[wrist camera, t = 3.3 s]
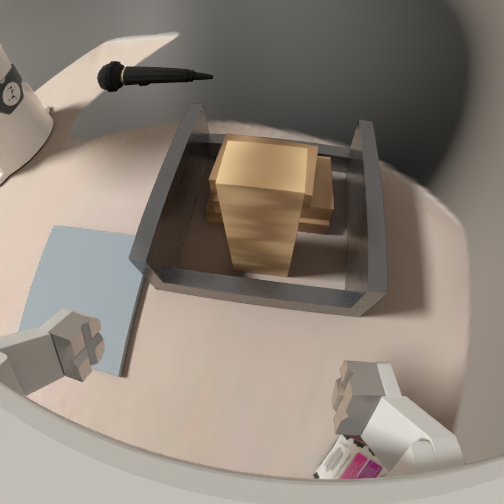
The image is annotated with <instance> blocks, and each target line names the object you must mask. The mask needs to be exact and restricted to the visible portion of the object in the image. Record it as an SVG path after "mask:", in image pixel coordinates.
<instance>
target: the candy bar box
mask: <svg viewBox="0 0 504 504" xmlns="http://www.w3.org/2000/svg"><path fill="white" fill-rule="evenodd" d="M388 473H389V472H388V471H387V469H386V468H385V467H384V466H383V464H382V463H381V462H380V461H379V459H378V458H377V457H376V456H375V454H374V453H373V452H372V450H371V449H370V448H369V447H368V445H367V444H366V443H364V442H362V441H360V440H357V439H355V438H353V437H351V436H349V435H340V436H339V437H338V439H337V441H336V442H335V444H334V445H333V447H332V449H331V450H330V452H329V453H328V454H327V456H326V457H325V459H324V460H323V461H322V462H321V464H320V465H319V467H318V468H317V470H316V471H315V472H314V474H313V476H314V477H315V479H363V478H380V477H386V476H387V475H388Z"/></svg>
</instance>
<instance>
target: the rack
mask: <svg viewBox="0 0 504 504" xmlns="http://www.w3.org/2000/svg"><path fill="white" fill-rule="evenodd" d="M225 136H226V134H209V131H208V125H207V120H206V114H205V109H204V104H190V105H189V107H188V109H187V111H186V113H185V115H184V117H183V119H182V121H181V124H180V126H179V128H178V130H177V132H176V135H175V137H174V139H173V141H172V144H171V146H170V148H169V150H168V153H167V155H166V157H165V160H164V162H163V165H162V167H161V169H160V172H159V174H158V177H157V179H156V182H155V184H154V187H153V189H152V192H151V195H150V197H149V200H148V203H147V205H146V208H145V211H144V213H143V216H142V219H141V222H140V225H139V228H138V230H137V233H136V236H135V239H134V242H133V245H132V248H131V251H130V254H129V258H128V259H129V260H130V261H131V263H132V264H133V265H134V266H135V267H136V268H137V269H138V270H139V271H140V272H141V273H142V275H143V276H144V277H145V278H146V279H147V280H148V281H149V282H150V283H151V284H152V285H153V286H154V287H155V288H156V289H159V290H165V291H171V292H176V293H182V294H188V295H194V296H200V297H207V298H213V299H219V300H226V301H233V302H239V303H246V304H253V305H261V306H268V307H276V308H284V309H291V310H300V311H308V312H317V313H326V314H335V315H345V316H355V317H360V316H361V315H362V314H363V313H365V312H366V311H367V310H368V309H369V308H371V307H372V306H373V305H374V304H375V303H377V302H378V301H379V300H380V299H381V298H382V297H384V296H385V295H386V294H387V250H386V231H385V216H384V204H383V194H382V184H381V175H380V167H379V160H378V152H377V146H376V139H375V133H374V127H373V122H371V121H366V120H361V119H359V120H358V124H357V127H356V131H355V134H354V137H353V141H352V144H351V147H350V149H349V148H343V147H337V146H331V145H324V144H317V143H310V142H302V141H294V140H285V139H276V138H268V139H275V140H282V141H288V142H295V143H301V144H307V145H313V146H318V152H317V156H323V157H330V159H331V170H333V171H339V172H346V192H347V251H346V282H345V290H338V289H329V288H321V287H313V286H304V285H296V284H288V283H281V282H273V281H265V280H258V279H250V278H243V277H236V276H228V275H221V274H214V273H207V272H200V271H194V270H187V269H180V268H177V264H178V260H179V257H180V253H181V249H182V245H183V242H184V238H185V235H186V231H187V227H188V224H189V220H190V217H191V213H192V210H193V207H194V203H195V200H196V197H197V193H198V190H199V187H200V183H201V180H202V177H203V174H204V171H205V168H206V164H207V161H208V158H209V157H213V158H217V156H218V154H219V151H220V148H221V146H222V143H223V141H224V138H225ZM252 137H255V136H252ZM260 138H266V137H260Z"/></svg>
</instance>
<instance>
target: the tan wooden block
mask: <svg viewBox="0 0 504 504" xmlns="http://www.w3.org/2000/svg"><path fill="white" fill-rule="evenodd" d="M307 150H308V148H300V147H292V146H284V145H274V144H264V143H253V142H241V141H227V145H226V148H225V152H224V155H223V158H222V162H221V165H220V169H219V172H218V176H217V179H216V183H215V184H216V189H217V194H218V198H219V203H220V208H221V213H222V218H223V222H224V227H225V232H226V236H227V241H228V246H229V250H230V255H231V260H232V264H233V269H234V270H236V271H243V272H251V273H258V274H266V275H273V276H281V277H288V272H289V268H290V263H291V258H292V254H293V249H294V244H295V239H296V234H297V229H298V224H299V219H300V214H301V209H302V204H303V199H304V194H305V181H306V166H307Z"/></svg>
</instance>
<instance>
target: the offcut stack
mask: <svg viewBox="0 0 504 504" xmlns="http://www.w3.org/2000/svg"><path fill="white" fill-rule="evenodd" d="M227 141H241V142H253V143H264V144H274V145H284V146H292V147H300V148H308V150H307V166H306V181H305V194H304V199H303V204H302V209H301V214H300V219H299V224H298V229H297V231H299V232H308V233H316V234H324V235H326V234H327V231H328V228H329V220H330V219H331V217H332V214H333V211H334V198H333V184H332V171H331V159H330V157H323V156H317V152H318V146H313V145H307V144H301V143H295V142H288V141H282V140H275V139H268V138H260V137H252V136H244V135H235V134H226V136H225V138H224V141H223V143H222V146H221V148H220V151H219V154H218V156H217V159H216V161H215V164H214V167H213V169H212V172H211V174H210V177H209V183H210V188H211V189H210V193H209V197H208V201H207V205H206V208H205V215H206V219H207V221H209V222H218V223H224V222H223V218H222V213H221V208H220V203H219V198H218V194H217V189H216V184H215V183H216V179H217V176H218V172H219V169H220V165H221V162H222V158H223V155H224V152H225V148H226V145H227Z"/></svg>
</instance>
